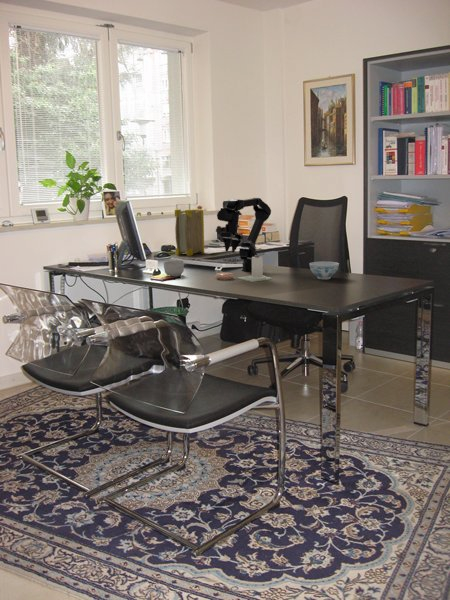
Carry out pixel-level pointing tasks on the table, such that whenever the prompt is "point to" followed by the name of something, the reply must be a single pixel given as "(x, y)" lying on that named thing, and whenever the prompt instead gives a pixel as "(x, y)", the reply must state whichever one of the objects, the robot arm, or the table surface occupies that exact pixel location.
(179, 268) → the teacup
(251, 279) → the mat
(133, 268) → the table surface
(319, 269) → the chinaware
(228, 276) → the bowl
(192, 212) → the decorative book
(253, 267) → the cover
